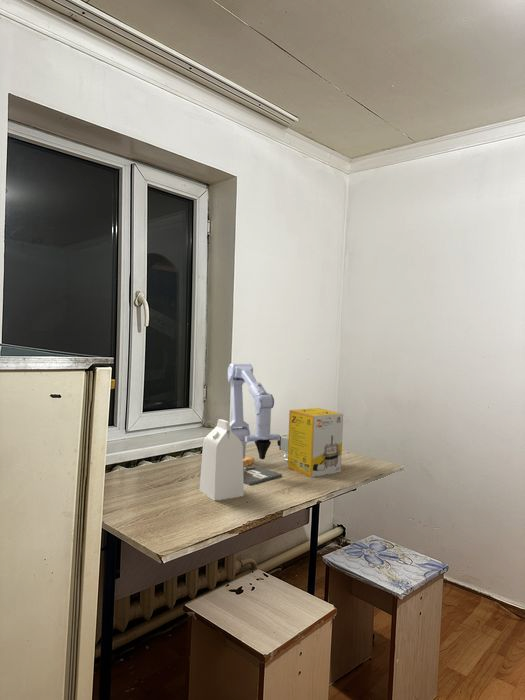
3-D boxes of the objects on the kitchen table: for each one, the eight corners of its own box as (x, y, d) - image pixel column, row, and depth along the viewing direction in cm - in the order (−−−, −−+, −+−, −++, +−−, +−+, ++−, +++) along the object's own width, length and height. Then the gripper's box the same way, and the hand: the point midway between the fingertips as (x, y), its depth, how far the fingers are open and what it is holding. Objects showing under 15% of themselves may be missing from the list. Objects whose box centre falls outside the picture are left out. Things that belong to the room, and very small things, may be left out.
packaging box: (315, 462, 214) (317, 407, 213) (340, 472, 200) (343, 413, 199) (287, 467, 204) (289, 410, 204) (311, 477, 191) (313, 416, 190)
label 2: (252, 475, 187) (252, 475, 187) (258, 474, 189) (258, 473, 189) (261, 478, 183) (261, 478, 183) (267, 477, 186) (267, 476, 186)
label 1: (246, 472, 192) (246, 471, 192) (252, 470, 194) (252, 469, 194) (254, 474, 188) (254, 473, 188) (261, 473, 191) (261, 472, 191)
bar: (248, 462, 201) (248, 456, 201) (256, 464, 199) (256, 457, 199) (224, 470, 188) (224, 463, 188) (232, 472, 186) (232, 465, 186)
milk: (243, 495, 166) (246, 422, 165) (214, 501, 160) (216, 424, 159) (227, 486, 176) (230, 416, 176) (199, 490, 170) (201, 418, 169)
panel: (215, 473, 192) (215, 468, 192) (247, 465, 205) (248, 461, 205) (249, 485, 178) (249, 480, 178) (281, 476, 191) (282, 471, 191)
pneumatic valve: (297, 464, 210) (298, 437, 210) (276, 459, 217) (277, 433, 217) (304, 462, 214) (305, 435, 214) (283, 457, 222) (284, 431, 221)
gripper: (250, 427, 181) (249, 462, 181) (284, 425, 187) (282, 459, 187) (243, 424, 187) (242, 458, 187) (276, 422, 193) (274, 455, 194)
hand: (261, 458), depth 188 cm, fingers closed
